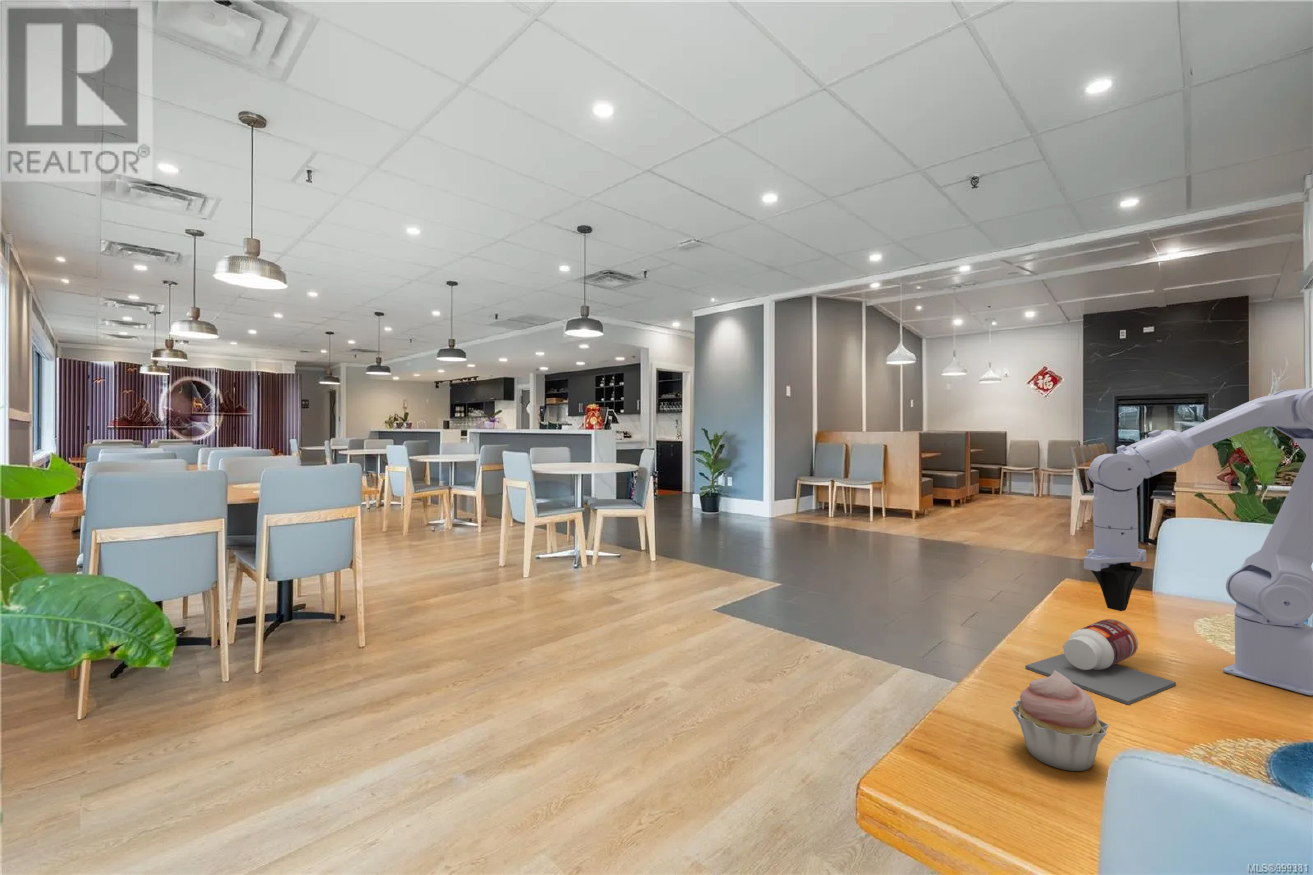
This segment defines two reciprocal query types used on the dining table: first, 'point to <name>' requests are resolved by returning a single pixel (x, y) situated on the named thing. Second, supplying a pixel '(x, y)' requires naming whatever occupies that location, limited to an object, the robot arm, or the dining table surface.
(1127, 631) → the pill bottle
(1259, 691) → the dining table surface
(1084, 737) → the cupcake
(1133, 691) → the mat
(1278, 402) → the robot arm
